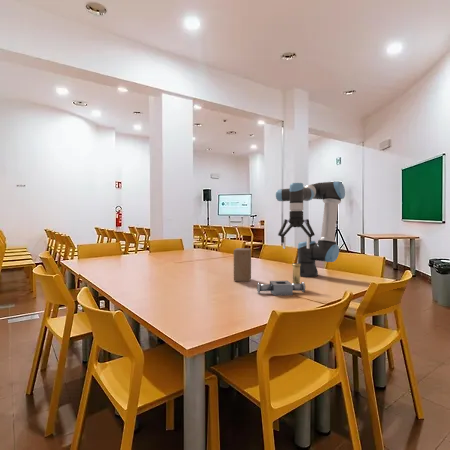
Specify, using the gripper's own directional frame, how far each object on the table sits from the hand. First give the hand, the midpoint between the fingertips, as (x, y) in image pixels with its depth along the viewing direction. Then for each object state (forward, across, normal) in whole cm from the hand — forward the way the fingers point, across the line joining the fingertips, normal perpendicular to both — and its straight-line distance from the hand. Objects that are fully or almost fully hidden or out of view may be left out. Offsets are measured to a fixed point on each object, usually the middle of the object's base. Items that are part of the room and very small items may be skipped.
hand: (296, 248), depth 174 cm
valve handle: (+23, 0, 0) cm, 23 cm away
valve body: (+23, +11, +9) cm, 27 cm away
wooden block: (+23, +28, -24) cm, 43 cm away
